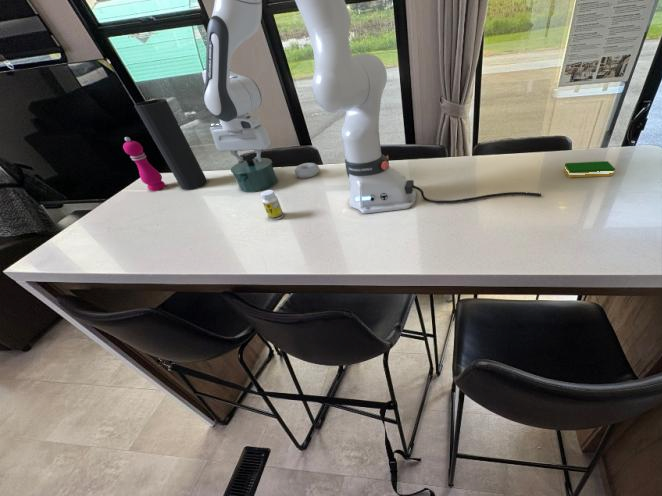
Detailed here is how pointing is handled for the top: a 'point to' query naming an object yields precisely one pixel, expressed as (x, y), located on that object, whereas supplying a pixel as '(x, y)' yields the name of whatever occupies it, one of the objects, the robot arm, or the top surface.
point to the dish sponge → (588, 168)
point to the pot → (257, 180)
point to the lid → (250, 165)
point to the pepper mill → (143, 165)
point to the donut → (306, 170)
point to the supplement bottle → (271, 205)
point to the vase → (171, 142)
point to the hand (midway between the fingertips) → (250, 162)
